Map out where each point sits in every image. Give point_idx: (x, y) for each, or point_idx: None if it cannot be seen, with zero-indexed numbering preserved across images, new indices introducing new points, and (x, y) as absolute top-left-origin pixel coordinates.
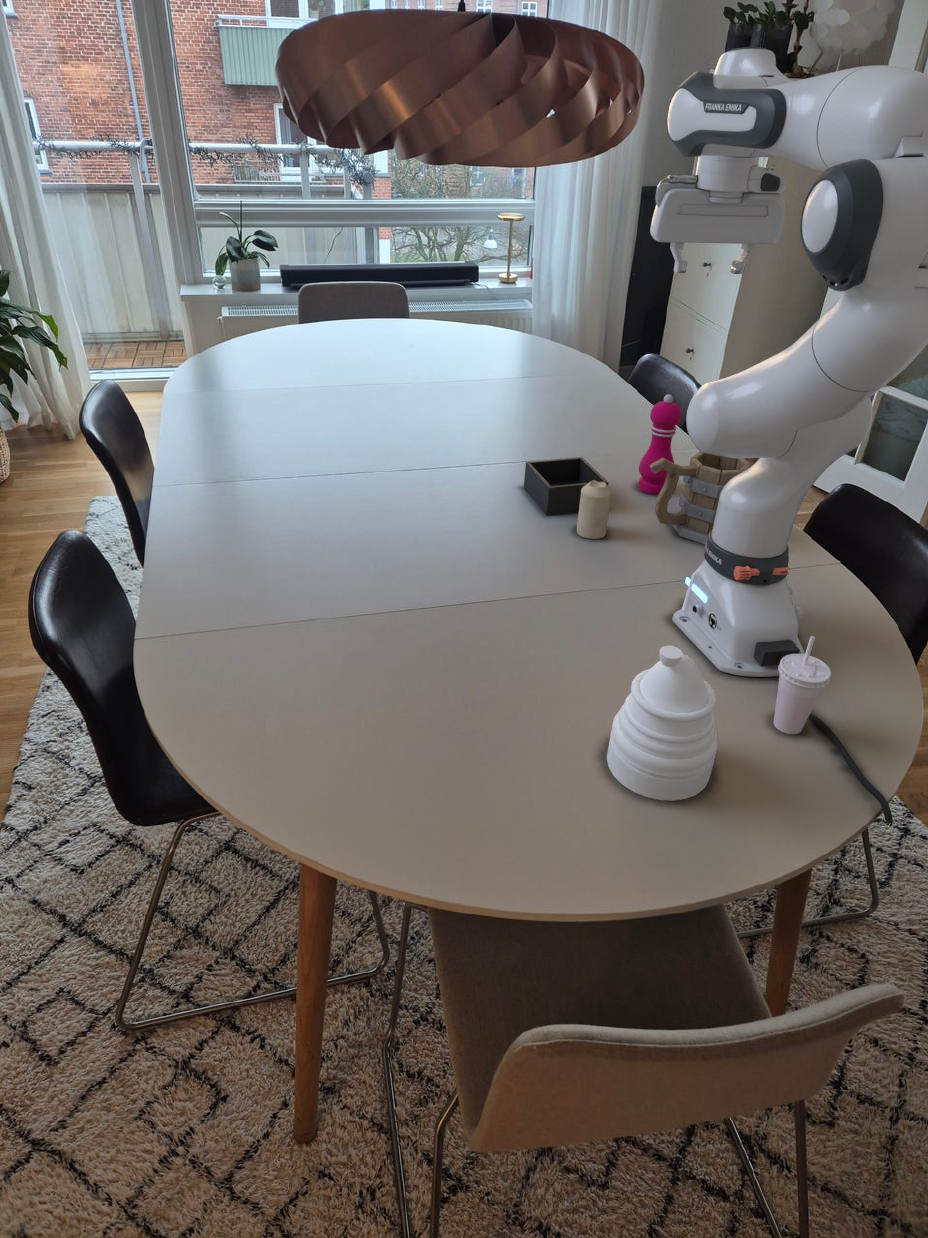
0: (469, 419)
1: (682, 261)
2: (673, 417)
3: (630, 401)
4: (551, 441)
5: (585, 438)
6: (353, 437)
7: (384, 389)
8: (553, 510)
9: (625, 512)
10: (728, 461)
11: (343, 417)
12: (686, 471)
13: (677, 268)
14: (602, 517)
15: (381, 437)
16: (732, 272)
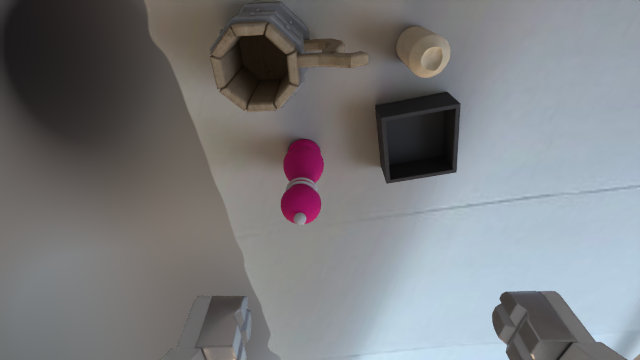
0: (436, 289)
1: (576, 340)
2: (295, 191)
3: (275, 320)
4: (376, 251)
5: (340, 256)
6: (560, 258)
7: (487, 335)
8: (441, 94)
9: (353, 97)
10: (238, 91)
11: None
12: (312, 54)
13: (565, 307)
14: (417, 31)
15: (534, 258)
16: (246, 310)
